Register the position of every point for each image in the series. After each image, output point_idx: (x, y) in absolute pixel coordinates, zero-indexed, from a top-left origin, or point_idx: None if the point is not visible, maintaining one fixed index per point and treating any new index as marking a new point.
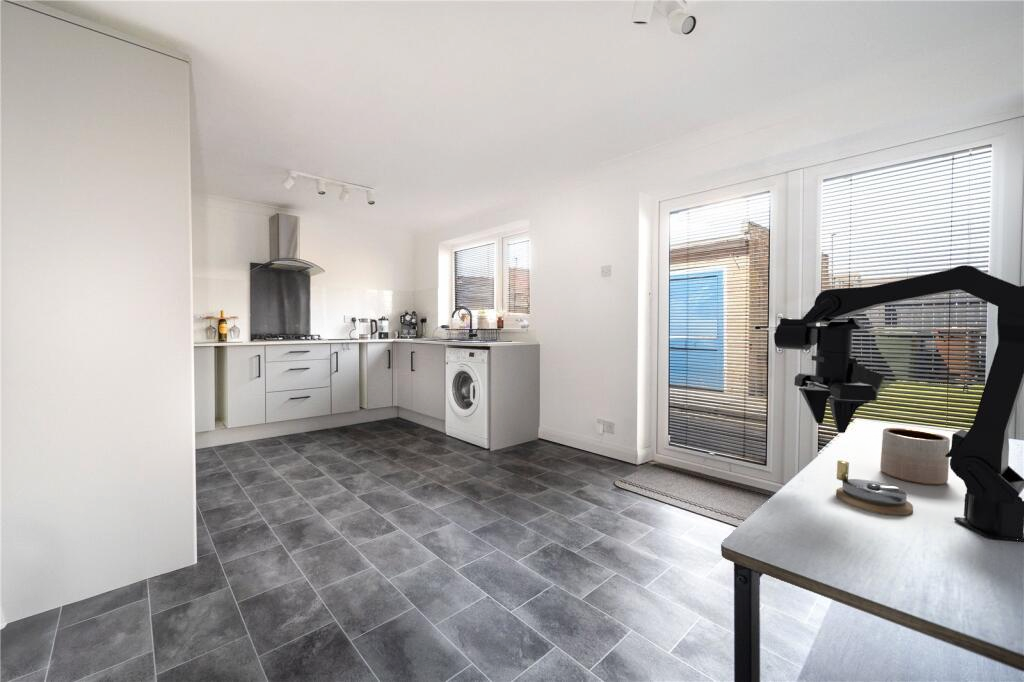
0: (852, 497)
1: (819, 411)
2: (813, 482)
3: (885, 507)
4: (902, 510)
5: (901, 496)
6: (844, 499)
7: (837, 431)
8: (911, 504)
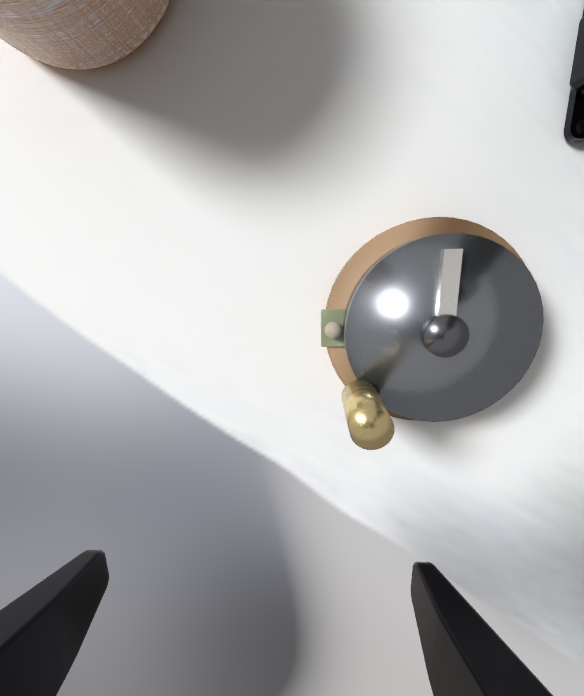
0: None
1: (17, 693)
2: (267, 416)
3: None
4: None
5: (523, 281)
6: None
7: (412, 599)
8: (474, 223)
